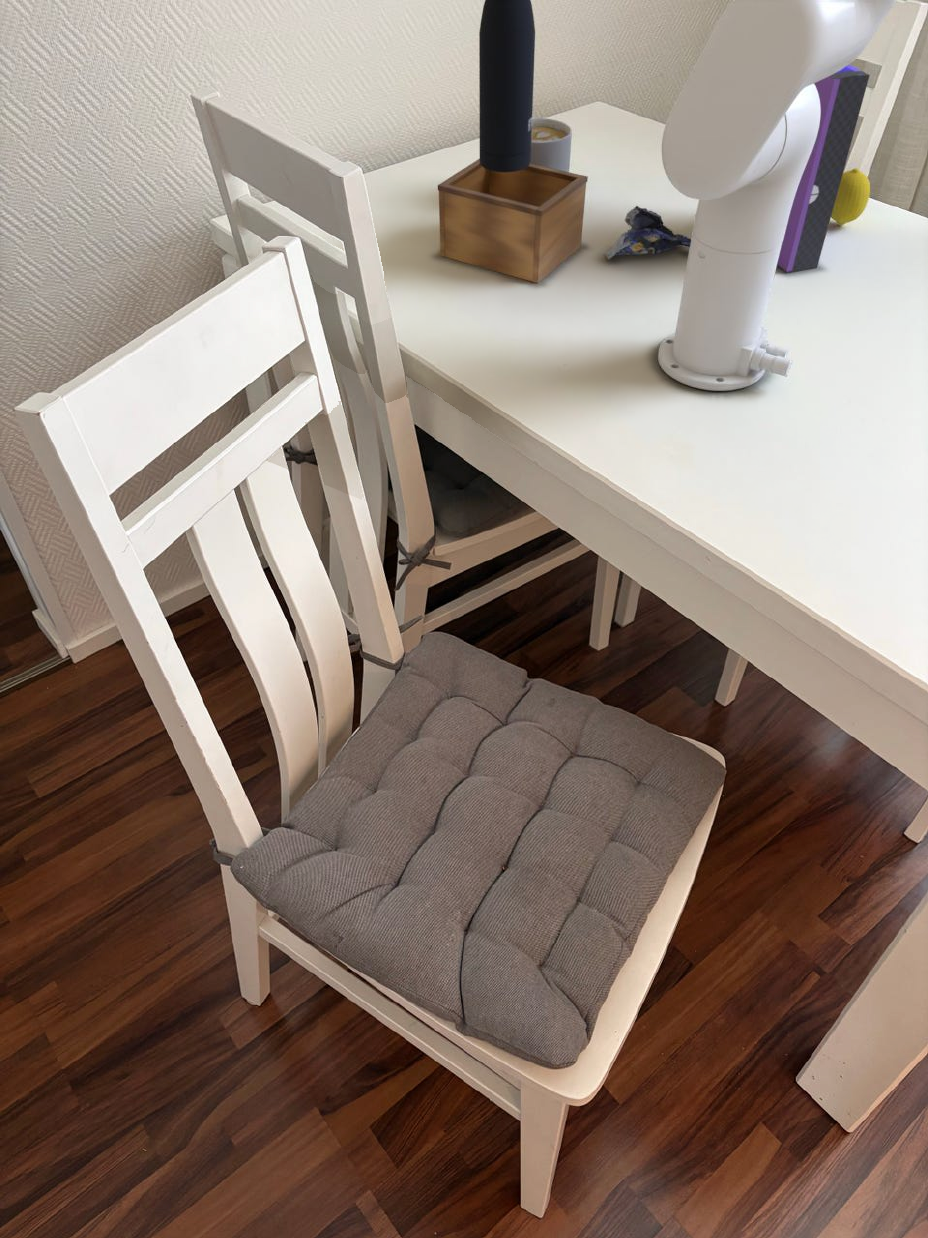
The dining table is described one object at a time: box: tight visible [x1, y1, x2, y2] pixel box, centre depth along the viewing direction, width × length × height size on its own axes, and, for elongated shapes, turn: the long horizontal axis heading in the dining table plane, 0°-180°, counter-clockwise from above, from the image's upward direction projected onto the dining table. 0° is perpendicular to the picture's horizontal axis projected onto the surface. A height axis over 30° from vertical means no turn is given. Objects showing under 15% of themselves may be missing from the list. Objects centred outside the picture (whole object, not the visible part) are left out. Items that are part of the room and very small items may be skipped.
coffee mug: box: [530, 117, 573, 173], centre depth 141 cm, size 13×10×10 cm
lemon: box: [830, 167, 871, 227], centre depth 135 cm, size 6×6×8 cm
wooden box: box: [437, 158, 589, 284], centre depth 129 cm, size 16×13×10 cm
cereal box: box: [777, 64, 870, 274], centre depth 125 cm, size 17×5×24 cm, turn 18°
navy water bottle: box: [478, 0, 536, 172], centre depth 108 cm, size 6×6×30 cm
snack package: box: [604, 205, 691, 261], centre depth 131 cm, size 12×6×12 cm
